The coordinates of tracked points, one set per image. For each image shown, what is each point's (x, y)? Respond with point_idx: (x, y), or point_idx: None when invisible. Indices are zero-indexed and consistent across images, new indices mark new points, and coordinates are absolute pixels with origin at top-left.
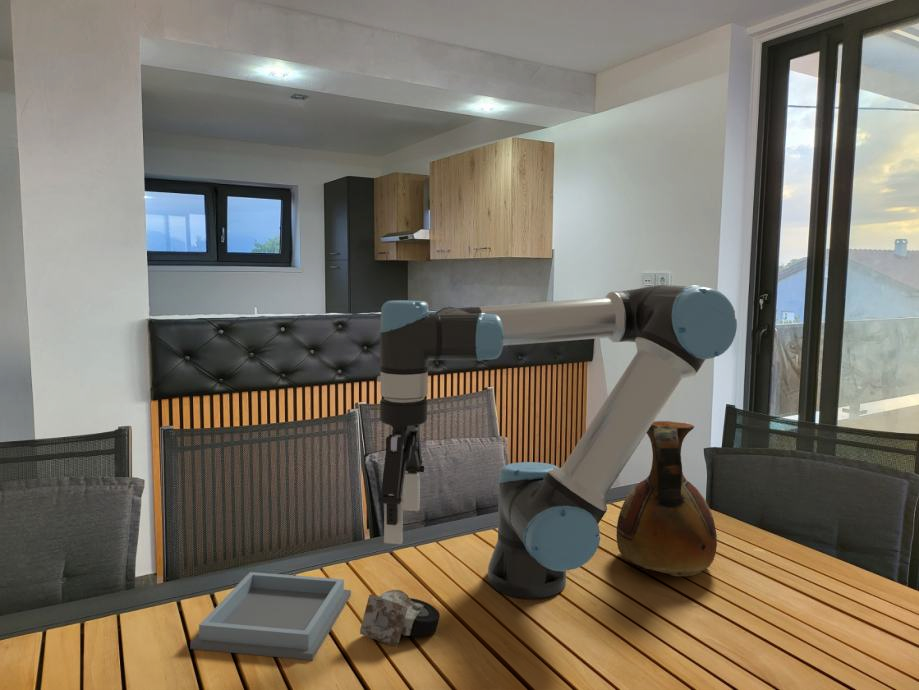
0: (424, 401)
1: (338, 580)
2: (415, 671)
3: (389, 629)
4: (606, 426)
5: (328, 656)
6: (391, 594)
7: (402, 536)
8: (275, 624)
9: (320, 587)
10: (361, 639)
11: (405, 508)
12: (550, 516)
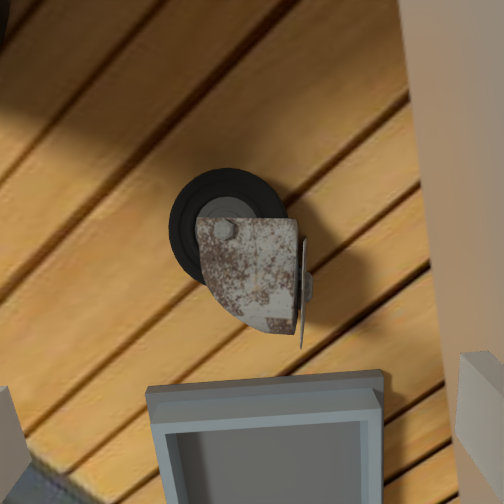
0: None
1: (159, 432)
2: (383, 176)
3: (305, 266)
4: None
5: (363, 348)
6: (251, 300)
7: (482, 372)
8: (305, 468)
9: (174, 451)
10: None
11: (21, 459)
12: None
